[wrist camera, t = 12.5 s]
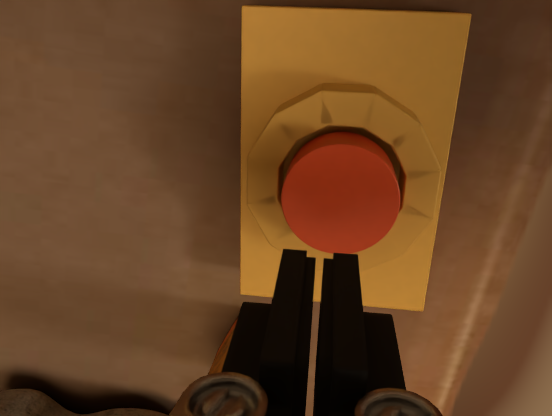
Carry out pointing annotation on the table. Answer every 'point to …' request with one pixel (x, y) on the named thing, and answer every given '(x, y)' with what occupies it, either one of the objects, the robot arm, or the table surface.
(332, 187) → the red push button
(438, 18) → the button block
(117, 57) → the table surface
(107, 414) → the stone
